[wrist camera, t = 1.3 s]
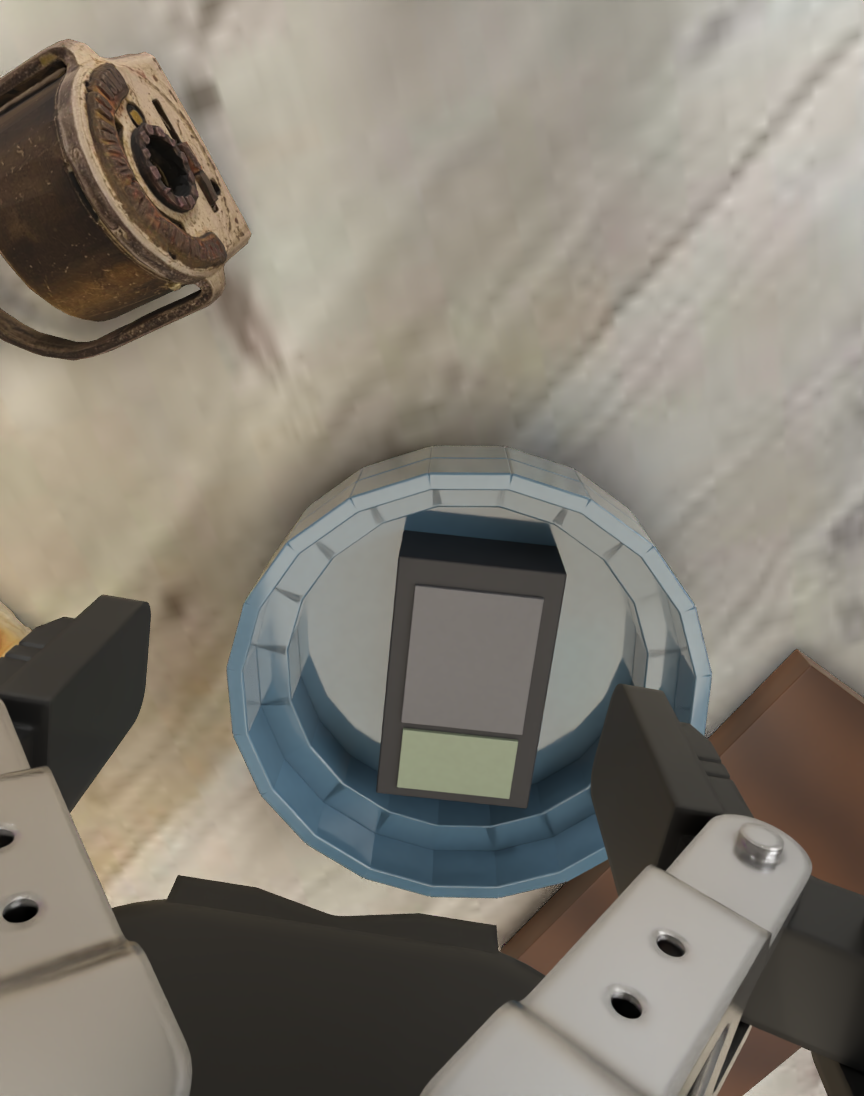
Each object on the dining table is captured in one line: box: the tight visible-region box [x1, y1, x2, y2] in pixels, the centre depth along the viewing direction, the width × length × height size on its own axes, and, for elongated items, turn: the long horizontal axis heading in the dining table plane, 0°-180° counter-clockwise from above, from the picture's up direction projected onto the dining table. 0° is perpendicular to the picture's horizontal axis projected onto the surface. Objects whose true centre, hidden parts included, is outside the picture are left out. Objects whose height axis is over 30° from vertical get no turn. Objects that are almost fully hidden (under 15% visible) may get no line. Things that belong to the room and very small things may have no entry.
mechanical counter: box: [0, 39, 251, 360], centre depth 26 cm, size 7×13×10 cm
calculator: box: [376, 530, 567, 808], centre depth 32 cm, size 10×6×3 cm, turn 174°
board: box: [501, 649, 864, 1096], centre depth 37 cm, size 20×14×2 cm
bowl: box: [226, 446, 712, 898], centre depth 32 cm, size 17×17×5 cm
